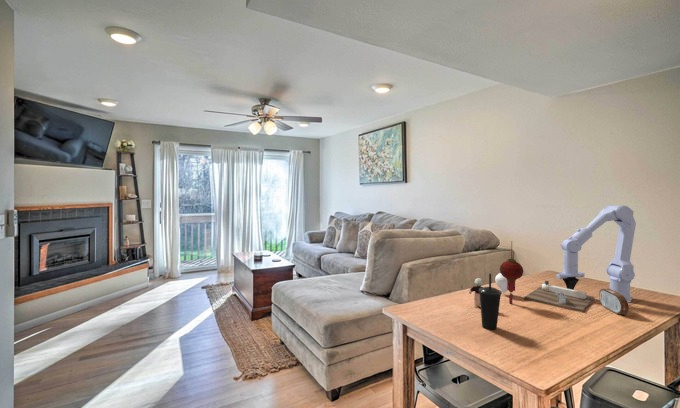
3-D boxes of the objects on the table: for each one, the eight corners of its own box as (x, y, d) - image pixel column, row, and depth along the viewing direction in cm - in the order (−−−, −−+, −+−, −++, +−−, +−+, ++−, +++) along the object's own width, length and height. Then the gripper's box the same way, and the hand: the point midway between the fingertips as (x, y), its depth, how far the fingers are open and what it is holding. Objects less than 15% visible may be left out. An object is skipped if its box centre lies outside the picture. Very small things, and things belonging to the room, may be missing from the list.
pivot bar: (540, 289, 157) (540, 284, 157) (544, 288, 159) (544, 283, 159) (583, 299, 142) (583, 293, 142) (586, 297, 144) (586, 292, 144)
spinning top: (496, 291, 158) (496, 267, 157) (513, 294, 153) (514, 269, 153) (493, 295, 152) (494, 270, 151) (511, 298, 147) (511, 273, 147)
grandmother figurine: (487, 306, 136) (487, 277, 136) (488, 309, 133) (488, 280, 132) (468, 304, 139) (468, 276, 138) (469, 307, 135) (469, 278, 135)
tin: (629, 317, 124) (630, 296, 124) (620, 317, 125) (620, 296, 124) (605, 304, 139) (605, 286, 138) (597, 304, 139) (597, 285, 139)
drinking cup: (500, 333, 109) (500, 277, 109) (476, 328, 113) (477, 274, 113) (502, 326, 116) (502, 272, 115) (479, 321, 120) (480, 270, 119)
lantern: (514, 300, 145) (516, 235, 144) (527, 307, 135) (529, 238, 134) (494, 300, 144) (495, 235, 144) (506, 307, 135) (507, 238, 134)
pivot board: (540, 288, 163) (540, 277, 163) (594, 298, 147) (594, 286, 147) (524, 299, 146) (524, 287, 146) (582, 312, 130) (583, 298, 129)
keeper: (551, 296, 146) (551, 288, 146) (557, 297, 145) (557, 288, 145) (559, 304, 136) (559, 294, 136) (565, 304, 136) (565, 295, 136)
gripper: (574, 262, 155) (574, 289, 156) (550, 263, 152) (550, 291, 152) (589, 265, 148) (588, 293, 149) (563, 266, 145) (563, 295, 146)
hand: (570, 292), depth 150 cm, fingers closed
